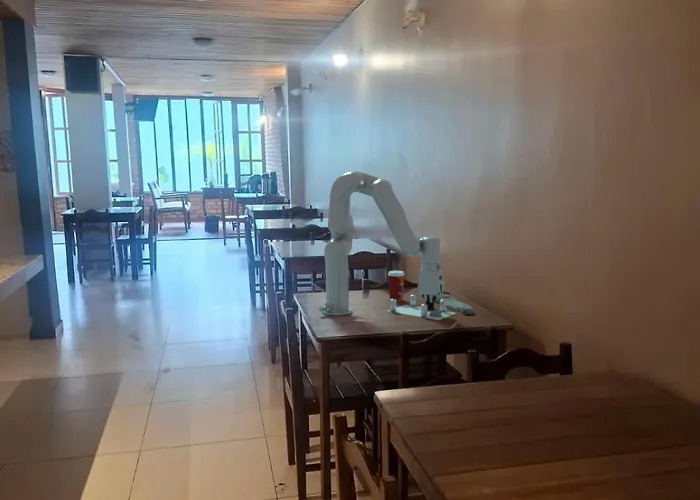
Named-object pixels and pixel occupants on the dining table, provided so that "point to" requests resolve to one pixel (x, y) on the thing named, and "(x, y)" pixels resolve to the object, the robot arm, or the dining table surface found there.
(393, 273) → the paper cup
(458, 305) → the elongated rock
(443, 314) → the board
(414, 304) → the spacers
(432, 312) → the grey faceted hexagonal block
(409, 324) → the dining table surface
